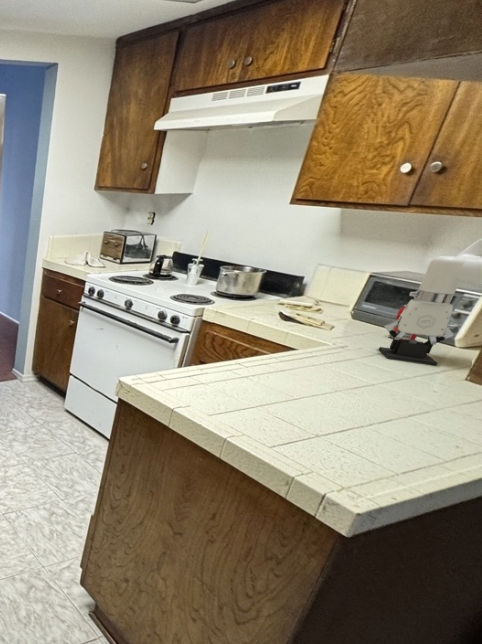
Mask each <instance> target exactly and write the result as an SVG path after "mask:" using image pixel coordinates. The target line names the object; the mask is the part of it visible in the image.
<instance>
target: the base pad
mask: <svg viewBox="0 0 482 644" xmlns="http://www.w3.org/2000/svg"><path fill="white" fill-rule="evenodd" d="M417 341H418V340H417V339H415V340H414V339H412V340H410V341H409V343H413V344H417ZM378 351H379V352H380V353H381V354H383V356H384V357H385V358H386V359H388V360H395V361H402V362H408V363H415V364H422V365H429V366H437V365H438V362H437V361H436V360H435V359H434V358H432V357H431V356H430V355H428V354H427V355H426V356H424V358H423V359H422V358H415V357H408V356H401V355H397V354H396V353H394V352H393V351H392V350H391V348H390V347H383V346H379V347H378Z"/></svg>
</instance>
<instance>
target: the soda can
mask: <svg viewBox="0 0 482 644" xmlns="http://www.w3.org/2000/svg"><path fill="white" fill-rule="evenodd" d="M406 306H407V304H403V306H402V307H401V308H400V309H399V310H398V312H397V314H396V317H395V318H394V321H395V320H397V319H399V317H400V315H401V314H402V312H403V310H404V309H405V307H406ZM393 330H394V331H395V332H397V331H398V330H399V329H397V328H396V326H394V327H393ZM389 336H390V337H391V338H392V339H393V337H392V335H391V334H390V333H389ZM417 337H418V334H411V333H406V334H405V335H404V336H403V337H402V338H401V339H404V340H412V339H414V340H417Z"/></svg>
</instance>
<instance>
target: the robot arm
mask: <svg viewBox="0 0 482 644" xmlns="http://www.w3.org/2000/svg"><path fill="white" fill-rule="evenodd" d="M460 283H467V284H473V285H478V286H482V237H481V238H479V239H478V240H476V241H475V242H473V243H471V244H470V245H469V246H467V247H465V248H464V249H463V250H461V251H460V252H459V253H458V254H456V255H455V256H453V255H437V256H435V257H433V258H432V259H431V261H430V263H429V265H428V267H427V269H426V272H425V274H424V276H423V278H422V281H421V283H420V285H419V287H418V289H416V291H410V292H409V297H413V298H412V299H410V300H409V301H408V302H407V304H406V305H407V306H406V307H405V309H404V310H403V312H402V314H401V315H400V317H399V319H397V320H395V319H394V320H393V321H391V322H389V323H386V324H385V325H384V328H385V329H386V331H387V332H388V333H389V334H391V335H392V337H393V338H392V337H391V338H392V341H391V343H390V345H389V348H391V350H392V351H393V352H397V350H398V347H399V345H400V343H401V340H400V339H401V338H402V337H403V336H404V335H405V334H406V333H411V334H418V335H419V336H426V339H427V340H426V341H424V342H423V343H424V344H426V345H427V346H429V348H428V350H427V352H426V354H425V356H426V355H428V354H430V352H431V351H432V348H433V346H434V345H436V344H437V343H441V342H443V341H445V340H448V339H450V338H452V337H454V336H455V334H454V332H453V331H452V330H451V329H450V327H449V323H450V320H451V317H452V313H453V309H454V304H452V303H451V301H452V299H453V297H454V295H455V293H456V291H457V289H458V287H459V285H460ZM394 326H396V328H397V329H399V330H398V331H397V332H395V331H394V330H393V327H394ZM418 335H417V336H418Z"/></svg>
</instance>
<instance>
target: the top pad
mask: <svg viewBox="0 0 482 644" xmlns="http://www.w3.org/2000/svg"><path fill="white" fill-rule="evenodd" d="M400 340H401V343H400V345H399V347H398V350H397V352H394V353H396V354H397V355H401V356H408V357H415V358H422V359H423V358H424V356H425V354H426V352H427V350H428V348H429V346H427V345H426V344H424V343H425V342H424V341H419V340H416V341H417V344H413V343H409V341H410V340H404V339H400Z"/></svg>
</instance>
